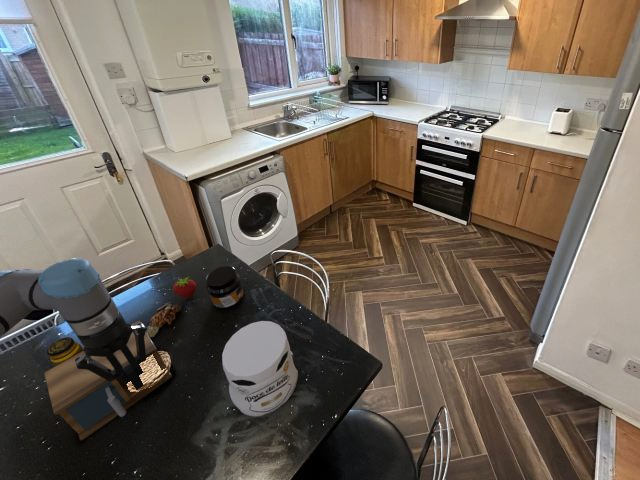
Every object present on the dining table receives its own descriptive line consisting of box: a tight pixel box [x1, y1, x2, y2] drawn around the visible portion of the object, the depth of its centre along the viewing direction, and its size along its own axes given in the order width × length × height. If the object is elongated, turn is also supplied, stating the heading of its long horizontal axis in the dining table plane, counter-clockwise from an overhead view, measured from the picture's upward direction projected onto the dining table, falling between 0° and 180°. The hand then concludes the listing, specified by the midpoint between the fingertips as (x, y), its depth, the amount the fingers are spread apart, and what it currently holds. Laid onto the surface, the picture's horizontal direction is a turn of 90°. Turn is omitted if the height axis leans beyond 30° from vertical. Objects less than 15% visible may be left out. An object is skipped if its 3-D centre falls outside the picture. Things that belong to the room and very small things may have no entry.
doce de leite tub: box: [221, 320, 299, 417], centre depth 82 cm, size 17×17×18 cm
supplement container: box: [205, 265, 245, 311], centre depth 110 cm, size 10×10×12 cm
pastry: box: [145, 302, 181, 338], centre depth 103 cm, size 7×12×4 cm, turn 174°
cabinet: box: [43, 320, 173, 441], centre depth 82 cm, size 14×20×13 cm
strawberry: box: [172, 275, 197, 300], centre depth 111 cm, size 6×8×10 cm
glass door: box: [66, 378, 130, 430], centre depth 75 cm, size 6×9×10 cm, turn 140°
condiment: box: [46, 336, 84, 367], centre depth 87 cm, size 7×8×12 cm
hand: (138, 384), depth 78 cm, fingers closed
